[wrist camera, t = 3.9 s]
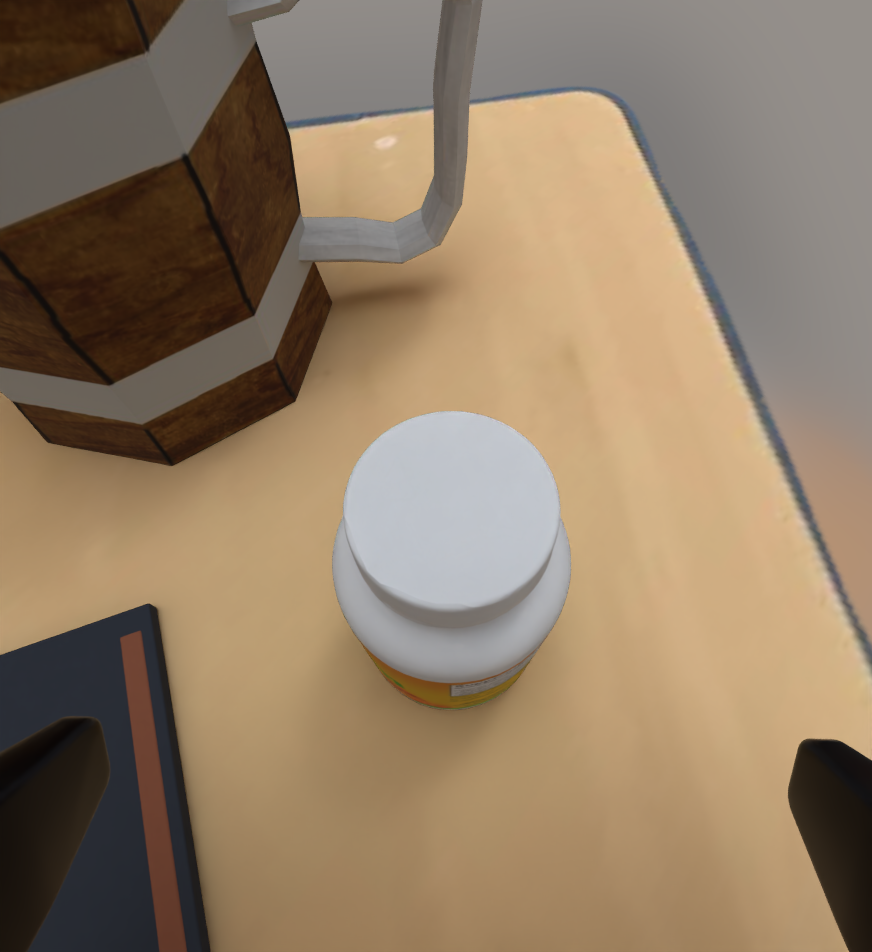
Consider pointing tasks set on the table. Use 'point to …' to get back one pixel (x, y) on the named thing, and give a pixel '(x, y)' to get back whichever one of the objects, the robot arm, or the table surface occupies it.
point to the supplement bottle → (451, 557)
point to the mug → (174, 220)
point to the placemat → (115, 787)
